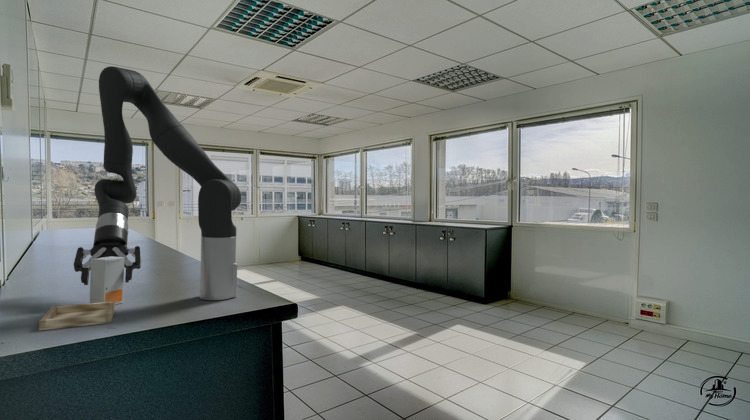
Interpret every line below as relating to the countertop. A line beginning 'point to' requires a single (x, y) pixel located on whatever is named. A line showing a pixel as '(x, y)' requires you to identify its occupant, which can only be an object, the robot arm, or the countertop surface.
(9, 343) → the countertop surface
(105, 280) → the skincare box
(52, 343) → the countertop surface
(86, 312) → the holder
